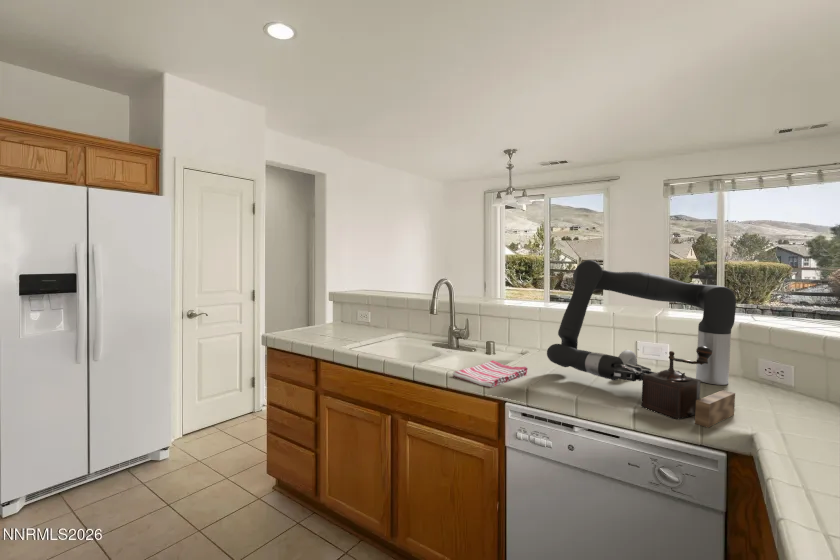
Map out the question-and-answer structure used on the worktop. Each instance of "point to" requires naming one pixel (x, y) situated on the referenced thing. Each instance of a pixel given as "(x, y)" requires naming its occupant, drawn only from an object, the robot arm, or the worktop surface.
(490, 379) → the dish towel
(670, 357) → the manual coffee grinder
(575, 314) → the robot arm
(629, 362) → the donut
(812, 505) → the worktop surface
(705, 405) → the block
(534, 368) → the worktop surface
